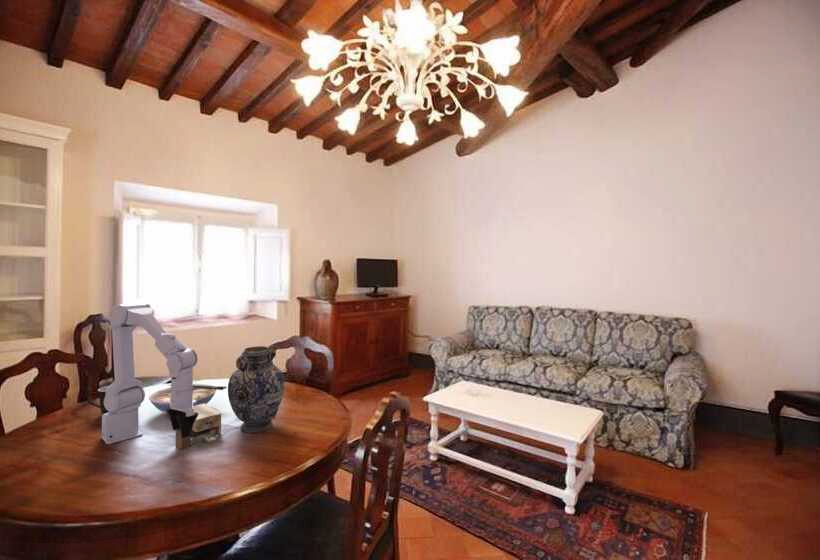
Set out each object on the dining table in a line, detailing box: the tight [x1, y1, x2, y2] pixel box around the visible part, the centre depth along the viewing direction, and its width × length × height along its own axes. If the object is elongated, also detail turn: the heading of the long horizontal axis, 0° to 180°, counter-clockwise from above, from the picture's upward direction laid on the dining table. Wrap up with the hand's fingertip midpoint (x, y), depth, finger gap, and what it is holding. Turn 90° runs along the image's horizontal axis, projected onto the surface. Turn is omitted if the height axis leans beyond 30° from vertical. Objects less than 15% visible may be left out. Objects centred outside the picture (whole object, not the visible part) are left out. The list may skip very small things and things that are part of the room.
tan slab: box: [192, 403, 222, 435], centre depth 130 cm, size 8×15×7 cm, turn 49°
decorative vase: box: [227, 344, 285, 434], centre depth 134 cm, size 21×19×28 cm
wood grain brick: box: [175, 428, 217, 451], centre depth 123 cm, size 12×3×6 cm, turn 154°
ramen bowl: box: [148, 383, 227, 414], centre depth 148 cm, size 25×23×8 cm
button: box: [204, 433, 220, 443], centre depth 124 cm, size 4×4×1 cm
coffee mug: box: [86, 385, 110, 416], centre depth 144 cm, size 12×9×10 cm
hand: (181, 433), depth 118 cm, fingers open, 7 cm apart
